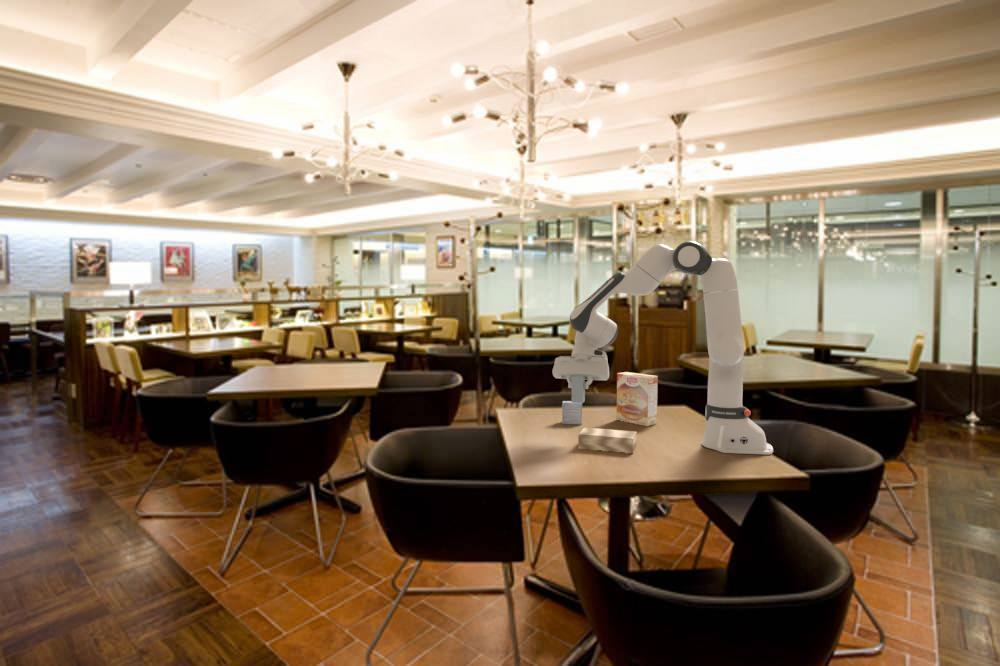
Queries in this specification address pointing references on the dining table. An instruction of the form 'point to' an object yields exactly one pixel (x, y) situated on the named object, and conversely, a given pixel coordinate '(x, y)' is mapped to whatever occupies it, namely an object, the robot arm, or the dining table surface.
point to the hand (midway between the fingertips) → (577, 387)
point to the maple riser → (607, 440)
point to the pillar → (578, 389)
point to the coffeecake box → (637, 398)
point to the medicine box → (571, 412)
